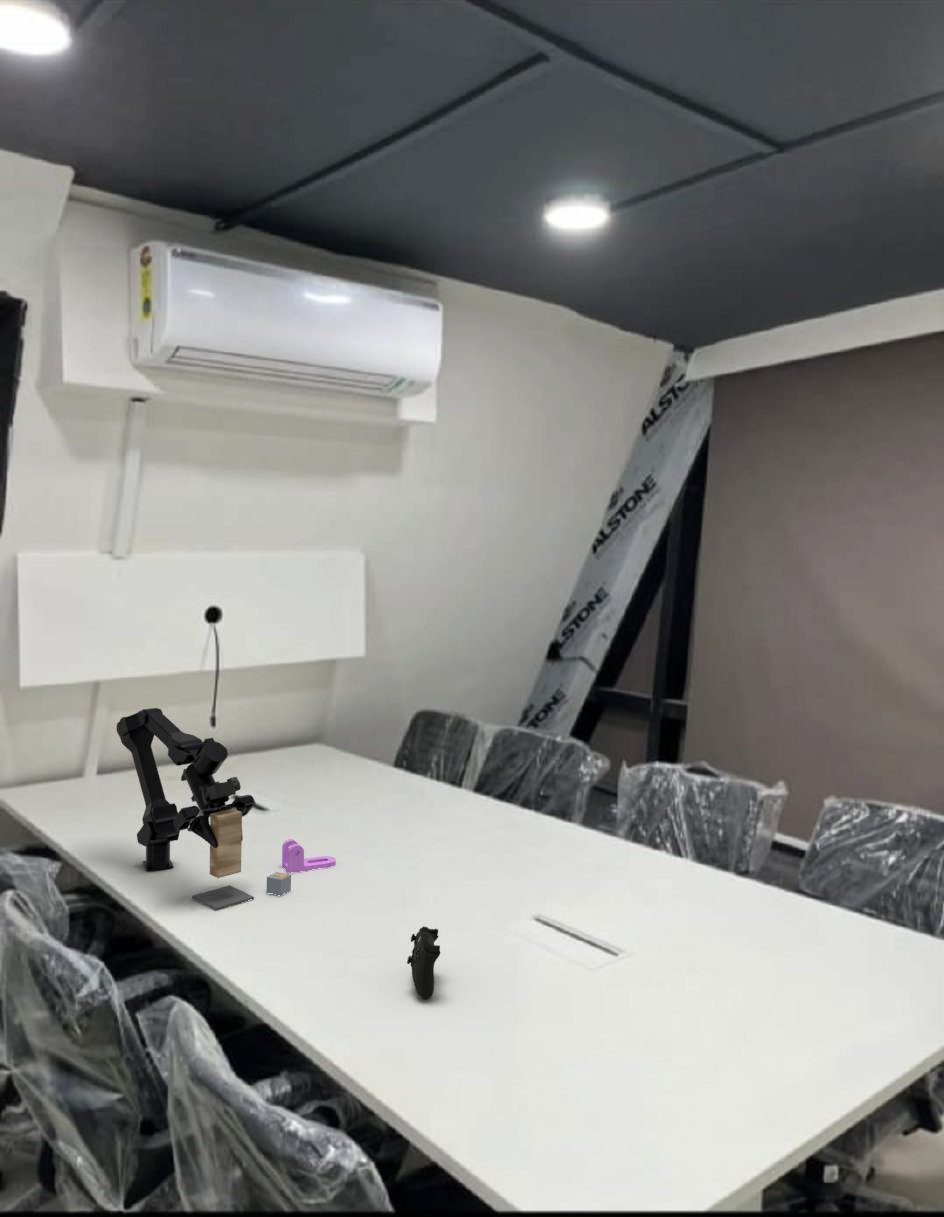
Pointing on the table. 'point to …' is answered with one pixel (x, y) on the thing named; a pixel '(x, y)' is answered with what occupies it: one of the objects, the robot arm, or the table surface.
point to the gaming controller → (424, 960)
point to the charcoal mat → (222, 897)
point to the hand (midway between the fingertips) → (229, 844)
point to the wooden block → (226, 843)
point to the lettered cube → (279, 883)
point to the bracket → (302, 858)
